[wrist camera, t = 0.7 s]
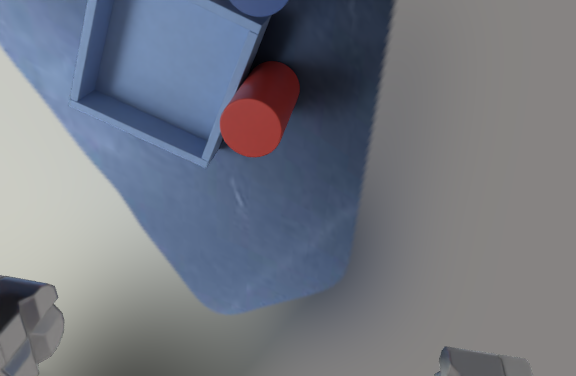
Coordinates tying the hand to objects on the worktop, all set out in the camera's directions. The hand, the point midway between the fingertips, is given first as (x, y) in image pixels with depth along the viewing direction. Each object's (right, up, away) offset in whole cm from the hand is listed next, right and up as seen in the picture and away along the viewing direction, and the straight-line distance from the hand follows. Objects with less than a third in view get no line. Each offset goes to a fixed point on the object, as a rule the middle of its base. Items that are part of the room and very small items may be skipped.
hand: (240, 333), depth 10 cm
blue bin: (-7, +12, +23) cm, 27 cm away
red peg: (0, +10, +23) cm, 25 cm away
